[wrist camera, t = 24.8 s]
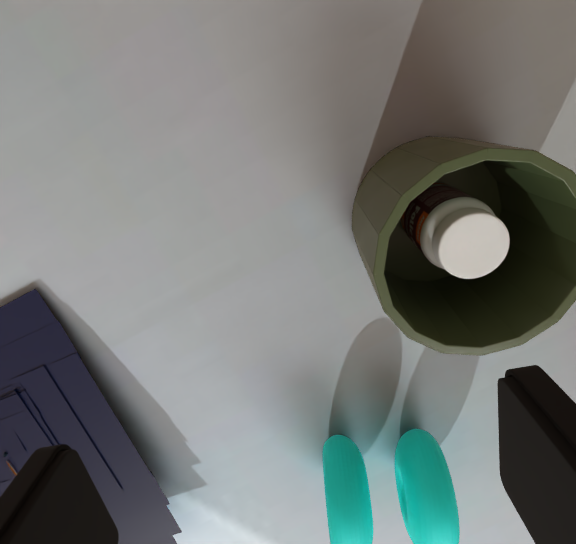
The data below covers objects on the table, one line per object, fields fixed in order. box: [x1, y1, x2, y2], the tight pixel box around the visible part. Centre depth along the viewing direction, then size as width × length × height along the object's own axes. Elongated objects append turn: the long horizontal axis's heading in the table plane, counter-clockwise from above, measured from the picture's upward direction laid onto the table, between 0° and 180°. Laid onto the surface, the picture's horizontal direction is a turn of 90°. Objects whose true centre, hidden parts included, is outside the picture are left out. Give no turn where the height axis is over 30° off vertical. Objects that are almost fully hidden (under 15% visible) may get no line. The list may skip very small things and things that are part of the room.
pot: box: [352, 136, 576, 356], centre depth 27 cm, size 12×12×10 cm
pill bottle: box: [400, 182, 510, 279], centre depth 27 cm, size 5×5×8 cm
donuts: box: [323, 429, 459, 544], centre depth 36 cm, size 10×10×10 cm
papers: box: [0, 289, 182, 544], centre depth 40 cm, size 24×30×4 cm
